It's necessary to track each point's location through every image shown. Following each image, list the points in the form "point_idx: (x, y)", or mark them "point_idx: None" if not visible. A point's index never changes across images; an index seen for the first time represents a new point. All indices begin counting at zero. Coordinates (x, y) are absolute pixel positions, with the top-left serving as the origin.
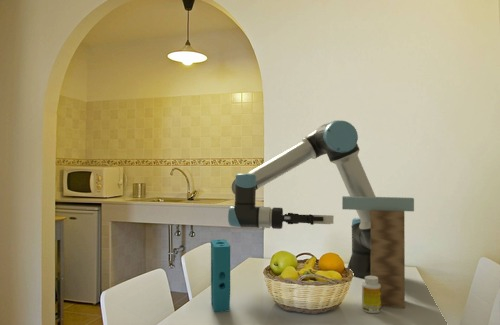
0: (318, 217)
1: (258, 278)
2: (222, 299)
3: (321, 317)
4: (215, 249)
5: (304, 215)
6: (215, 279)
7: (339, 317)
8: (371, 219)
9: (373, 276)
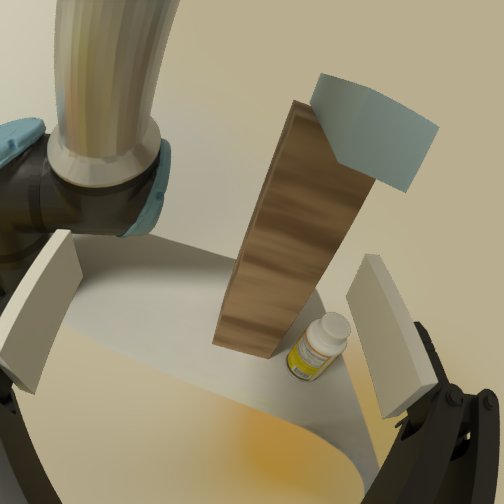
0: (434, 356)
1: None
2: None
3: (364, 462)
4: None
5: (495, 448)
6: None
7: (354, 429)
8: (373, 181)
9: (328, 318)
